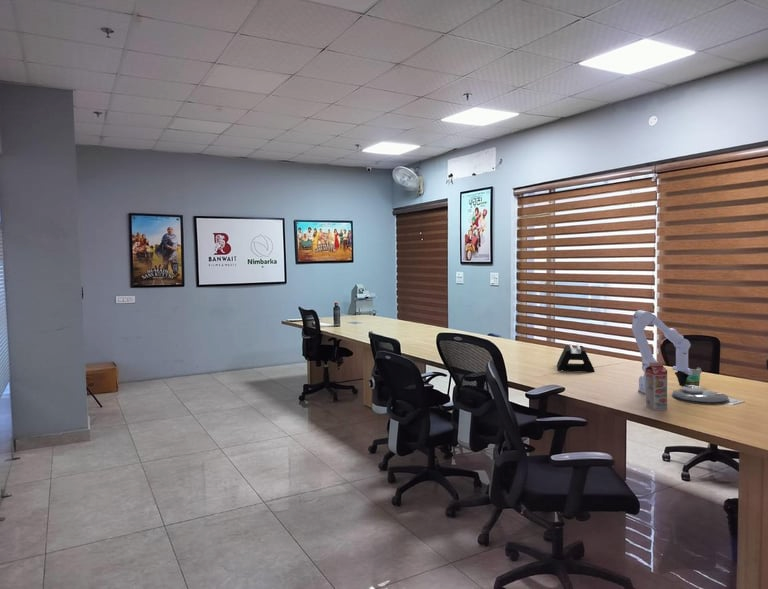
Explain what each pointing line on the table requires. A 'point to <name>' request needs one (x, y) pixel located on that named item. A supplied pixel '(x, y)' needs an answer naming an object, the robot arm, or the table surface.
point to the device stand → (574, 354)
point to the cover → (692, 389)
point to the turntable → (701, 396)
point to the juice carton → (656, 386)
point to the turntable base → (700, 402)
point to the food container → (694, 377)
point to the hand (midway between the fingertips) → (682, 385)
